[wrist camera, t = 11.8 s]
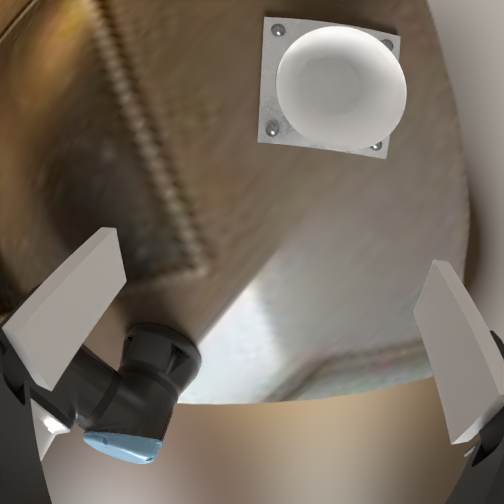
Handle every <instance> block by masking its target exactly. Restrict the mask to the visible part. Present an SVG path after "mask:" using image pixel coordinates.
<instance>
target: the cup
mask: <svg viewBox="0 0 504 504" xmlns="http://www.w3.org/2000/svg"><path fill="white" fill-rule="evenodd" d="M276 92H277V97H278V101H279V104H280V107H281V109H282V111H283V113H284V115H285V117H286V119H287V120H288V121H289V123H290V124H291V125H292V126H293V128H294V129H295V130H296V131H297V132H298V133H300V134H301V135H302V136H303V137H305V138H306V139H308V140H309V141H311V142H313V143H314V144H317V145H319V146H321V147H324V148H327V149H331V150H337V151H356V150H361V149H365V148H368V147H371V146H373V145H375V144H377V143H379V142H380V141H382V140H383V139H385V138H386V137H387V136H388V135H389V134H390V133H391V132H392V131H393V130H394V129H395V127H396V126H397V124H398V123H399V121H400V119H401V117H402V115H403V112H404V109H405V105H406V96H407V91H406V82H405V78H404V74H403V72H402V69H401V67H400V65H399V63H398V61H397V59H396V58H395V56H394V55H393V54H392V52H391V51H390V50H389V49H388V48H387V47H386V46H385V45H384V44H383V43H382V42H380V41H379V40H378V39H376V38H375V37H373V36H371V35H369V34H367V33H365V32H363V31H360V30H358V29H354V28H350V27H342V26H330V27H323V28H319V29H316V30H313V31H311V32H308V33H306V34H305V35H303V36H301V37H300V38H299V39H297V40H296V41H295V42H294V43H293V44H292V45H291V46H290V47H289V48H288V49H287V51H286V52H285V54H284V56H283V57H282V59H281V62H280V64H279V67H278V70H277V76H276Z"/></svg>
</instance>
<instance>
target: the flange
mask: <svg viewBox="0 0 504 504" xmlns="http://www.w3.org/2000/svg"><path fill="white" fill-rule="evenodd" d="M330 26H342V27H350V28H354V29H358V30H360V31H363V32H365V33H367V34H369V35H371V36H373V37H375V38H376V39H378V40H379V41H380V42H382V43H383V44H384V45H385V46H386V47H387V48H388V49H389V50H390V51H391V52H392V54H393V55H394V56H395V58H396V59H397V61H398V63H399V51H400V36H397V35H393V34H388V33H384V32H380V31H375V30H371V29H366V28H360V27H355V26H349V25H343V24H337V23H330V22H322V21H313V20H304V19H291V18H274V17H264V31H263V50H262V70H261V89H260V108H259V127H258V142H264V143H276V144H286V145H295V146H304V147H312V148H320V149H327V148H324V147H321V146H319V145H317V144H314V143H313V142H311V141H309V140H308V139H306V138H305V137H303V136H302V135H301V134H300V133H298V132H297V131H296V130H295V129H294V128H293V126H292V125H291V124H290V123H289V121H288V120H287V119H286V117H285V115H284V113H283V111H282V109H281V107H280V104H279V101H278V97H277V92H276V76H277V70H278V67H279V64H280V62H281V59H282V57H283V56H284V54H285V52H286V51H287V49H288V48H289V47H290V46H291V45H292V44H293V43H294V42H295V41H296V40H297V39H299V38H300V37H301V36H303V35H305V34H306V33H308V32H311V31H313V30H316V29H319V28H323V27H330ZM389 138H390V134H389V135H388V136H387V137H386V138H385V139H383V140H382V141H380V142H379V143H377V144H375V145H373V146H371V147H368V148H365V149H361V150H356V151H341V152H347V153H354V154H360V155H366V156H371V157H377V158H382V159H386V156H387V150H388V144H389ZM327 150H331V149H327ZM334 151H337V150H334Z"/></svg>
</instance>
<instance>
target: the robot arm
mask: <svg viewBox="0 0 504 504" xmlns="http://www.w3.org/2000/svg"><path fill="white" fill-rule="evenodd" d="M126 282H127V280H126V276H125V271H124V267H123V262H122V257H121V252H120V247H119V242H118V237H117V231H116V228H106V227H101V228H100V229H99V230H98V231H97V232H96V233H95V234H93V235H92V236H91V237H90V238H89V239H88V240H87V241H86V242H85V243H84V244H82V245H81V246H80V247H79V248H78V249H77V250H76V251H75V252H74V253H73V254H72V255H71V256H70V257H69V258H68V259H67V260H65V261H64V262H63V263H62V264H61V265H60V266H59V267H58V268H57V269H56V270H55V271H54V272H53V273H52V274H51V275H50V276H49V277H48V278H47V279H46V280H45V281H44V282H43V283H41V284H39V285H38V286H36V287H35V288H33V289H32V290H31V291H30V292H29V293H28V294H27V295H26V296H25V299H22V301H21V302H20V303H19V304H18V306H16V307H15V308H14V309H13V310H12V311H11V313H10V314H9V315H8V316H7V317H6V318H5V319H4V320H3V322H2V323H1V324H0V504H52V502H51V500H50V496H49V493H48V489H47V485H46V481H45V477H44V473H43V470H42V465H41V460H42V459H43V457H44V455H45V453H46V451H47V450H48V448H49V446H50V444H51V442H52V441H53V439H54V437H55V435H57V434H60V433H67V432H70V430H71V428H72V426H73V425H74V424H76V425H78V426H79V427H81V428H82V429H84V430H85V432H84V433H83V440H84V441H85V442H86V443H87V444H89V445H90V446H91V447H93V448H95V449H97V450H99V451H101V452H103V453H105V454H108V455H110V456H113V457H115V458H118V459H121V460H125V461H128V462H133V463H140V464H146V463H150V462H152V461H153V460H154V459H155V457H156V455H157V453H158V451H159V449H160V447H161V445H162V444H163V439H164V436H165V433H166V430H167V428H168V425H169V422H170V419H171V417H172V414H173V411H174V408H175V406H176V403H177V400H178V398H179V396H180V395H181V393H182V392H183V391H184V390H185V389H186V388H187V387H188V386H189V384H190V383H191V382H192V381H193V380H194V379H195V378H196V376H197V374H198V372H199V369H200V366H201V357H200V354H199V352H198V351H197V349H196V348H195V346H194V345H193V344H192V343H191V342H190V341H189V340H188V339H186V338H185V337H184V336H182V335H181V334H179V333H178V332H176V331H174V330H172V329H170V328H167V327H165V326H162V325H158V324H153V323H141V324H137V325H135V326H133V327H132V328H131V329H130V330H129V332H128V334H127V335H126V337H125V339H124V343H123V349H122V355H121V362H120V367H119V369H118V371H116V370H114V369H113V368H112V367H111V366H109V365H108V364H107V363H106V362H104V361H103V360H102V359H101V358H99V357H98V356H97V355H96V354H94V353H93V352H92V351H91V350H90V349H89V348H87V347H86V346H85V345H84V344H83V342H84V340H85V339H86V337H87V336H88V335H89V333H90V332H91V330H92V329H93V327H94V326H95V324H96V323H97V322H98V320H99V319H100V317H101V316H102V314H103V313H104V312H105V310H106V309H107V307H108V306H109V305H110V303H111V302H112V301H113V299H114V298H115V296H116V295H117V294H118V292H119V291H120V290H121V288H122V287H123V286H124V284H125V283H126ZM413 314H414V317H415V319H416V322H417V325H418V328H419V331H420V333H421V336H422V339H423V342H424V345H425V348H426V351H427V354H428V357H429V361H430V364H431V367H432V370H433V374H434V377H435V380H436V384H437V387H438V391H439V395H440V399H441V402H442V406H443V410H444V414H445V418H446V422H447V427H448V431H449V436H450V440H451V444H456V443H461V442H467V441H470V440H471V439H472V438H473V437H474V436H475V435H476V434H477V433H478V432H479V433H480V437H481V439H480V440H479V441H478V442H477V443H476V444H474V446H472V447H471V448H470V449H469V450H468V451H466V453H465V454H464V456H465V457H466V456H467V455H468V454H470V453H471V452H472V451H473V452H472V454H471V456H470V458H469V461H468V462H467V465H466V467H465V468H464V470H463V473H462V474H461V476H460V478H459V480H458V482H457V484H456V486H455V487H454V489H453V491H452V493H451V494H450V496H449V498H448V500H447V501H446V503H445V504H504V344H503V342H502V340H501V339H500V338H499V337H498V336H497V335H496V334H495V333H494V332H493V331H489V329H488V328H487V326H486V324H485V322H484V320H483V318H482V316H481V315H480V313H479V311H478V309H477V308H476V306H475V304H474V302H473V301H472V299H471V297H470V295H469V294H468V293H467V290H466V289H465V287H464V286H463V284H462V282H461V281H460V279H459V278H458V276H457V274H456V273H455V271H454V270H453V268H452V267H451V265H450V264H449V262H448V261H440V260H433V261H432V264H431V267H430V270H429V273H428V275H427V278H426V281H425V283H424V286H423V289H422V291H421V294H420V296H419V299H418V301H417V304H416V306H415V308H414V311H413Z"/></svg>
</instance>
